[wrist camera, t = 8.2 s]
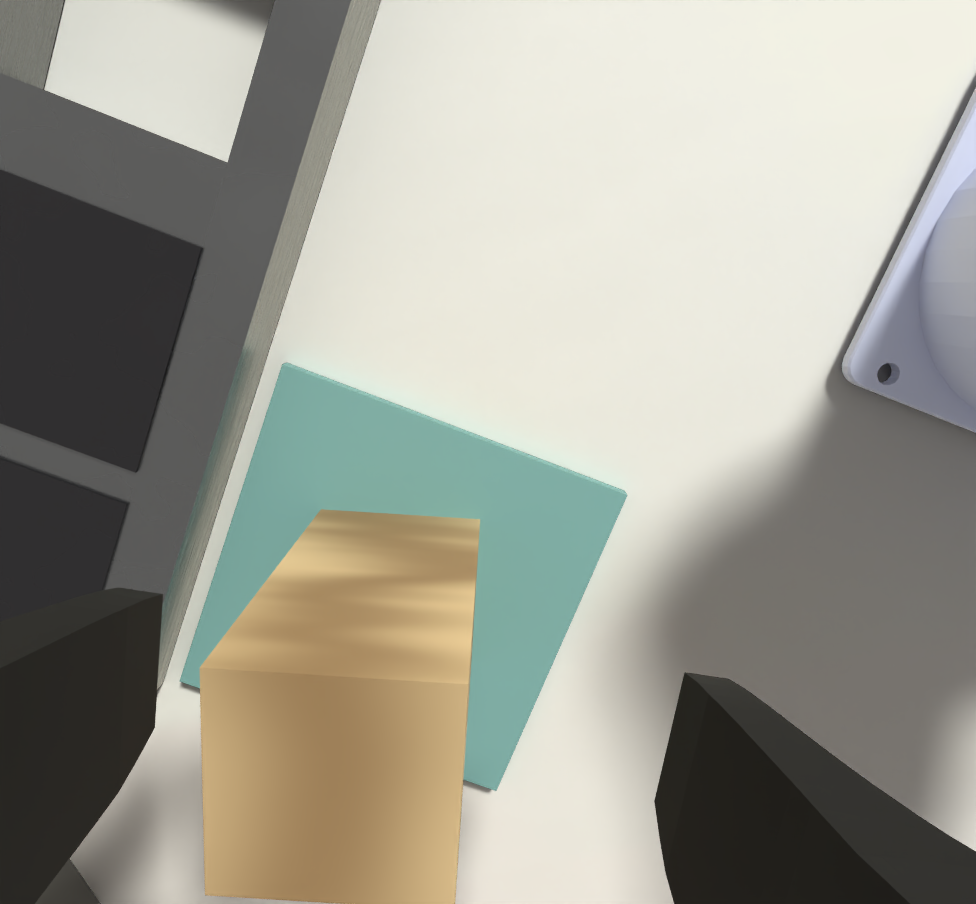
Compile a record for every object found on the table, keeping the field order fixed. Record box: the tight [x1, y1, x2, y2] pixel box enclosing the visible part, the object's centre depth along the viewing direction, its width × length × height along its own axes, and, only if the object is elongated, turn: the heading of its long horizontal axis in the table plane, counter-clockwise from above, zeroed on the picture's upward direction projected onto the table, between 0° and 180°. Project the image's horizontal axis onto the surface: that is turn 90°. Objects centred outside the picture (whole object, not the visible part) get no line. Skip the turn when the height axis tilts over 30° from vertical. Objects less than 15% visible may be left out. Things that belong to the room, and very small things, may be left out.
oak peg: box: [200, 509, 480, 904], centre depth 16 cm, size 4×4×8 cm
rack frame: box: [0, 0, 381, 690], centre depth 17 cm, size 8×24×2 cm, turn 159°
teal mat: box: [180, 363, 627, 791], centre depth 20 cm, size 9×9×1 cm
